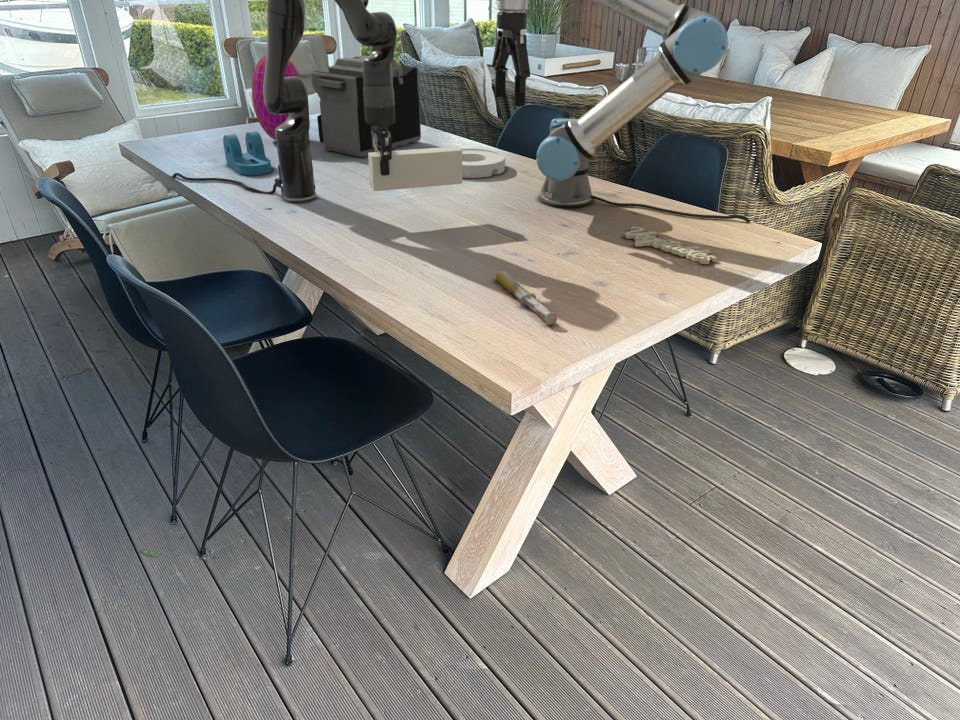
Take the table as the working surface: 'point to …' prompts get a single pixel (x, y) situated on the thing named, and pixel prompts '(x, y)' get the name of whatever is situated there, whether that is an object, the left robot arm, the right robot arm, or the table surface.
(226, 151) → the camera mount
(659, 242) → the decorative sign
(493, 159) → the ashtray
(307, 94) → the left robot arm
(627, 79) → the right robot arm
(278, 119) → the decorative egg
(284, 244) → the table surface
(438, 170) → the bar
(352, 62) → the tool box
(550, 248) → the table surface
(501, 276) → the syringe
